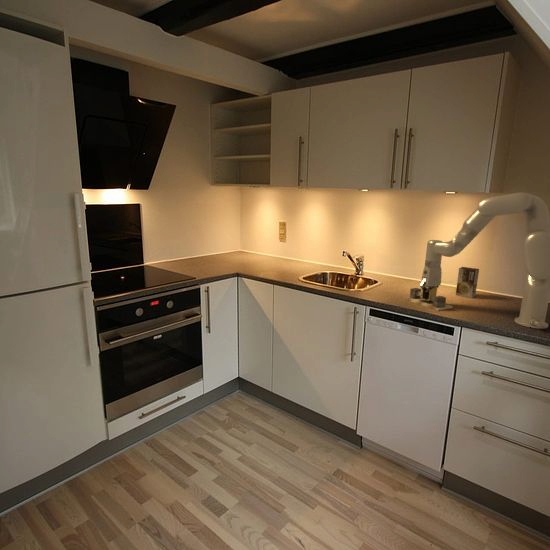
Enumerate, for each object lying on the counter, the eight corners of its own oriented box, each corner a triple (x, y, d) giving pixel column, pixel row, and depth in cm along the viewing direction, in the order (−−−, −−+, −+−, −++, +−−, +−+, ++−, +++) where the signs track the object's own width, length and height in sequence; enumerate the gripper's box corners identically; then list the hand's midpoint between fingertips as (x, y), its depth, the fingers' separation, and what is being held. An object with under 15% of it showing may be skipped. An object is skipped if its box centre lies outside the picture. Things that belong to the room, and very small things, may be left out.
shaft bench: (452, 307, 187) (453, 296, 185) (437, 310, 182) (439, 299, 180) (418, 297, 205) (420, 287, 203) (404, 299, 200) (406, 289, 198)
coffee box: (475, 296, 210) (479, 268, 207) (471, 298, 206) (476, 270, 203) (459, 293, 217) (462, 266, 213) (455, 294, 212) (458, 267, 209)
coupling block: (435, 299, 192) (437, 287, 190) (429, 300, 189) (430, 288, 188) (427, 297, 196) (429, 285, 194) (421, 298, 194) (422, 285, 192)
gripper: (427, 266, 181) (423, 302, 185) (450, 264, 189) (445, 298, 193) (415, 264, 188) (411, 298, 192) (437, 261, 196) (433, 294, 200)
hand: (428, 297), depth 192 cm, fingers closed on coupling block, 5 cm apart
